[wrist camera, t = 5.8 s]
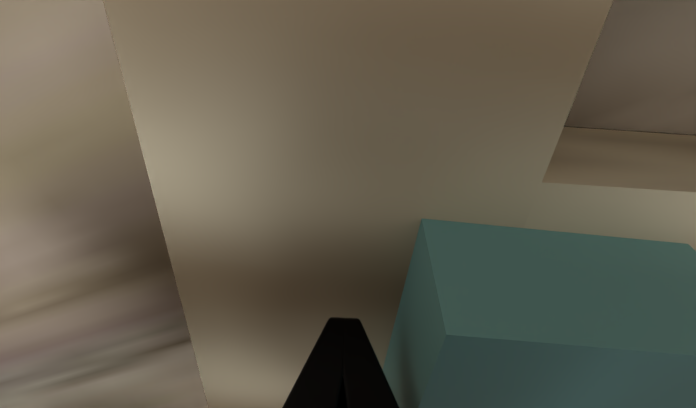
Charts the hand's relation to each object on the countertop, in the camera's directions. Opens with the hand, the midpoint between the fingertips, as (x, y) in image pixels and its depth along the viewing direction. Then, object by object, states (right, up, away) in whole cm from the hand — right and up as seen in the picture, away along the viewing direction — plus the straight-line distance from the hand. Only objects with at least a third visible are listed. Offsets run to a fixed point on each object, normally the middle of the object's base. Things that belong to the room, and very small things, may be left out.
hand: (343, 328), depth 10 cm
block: (+4, 0, +1) cm, 4 cm away
